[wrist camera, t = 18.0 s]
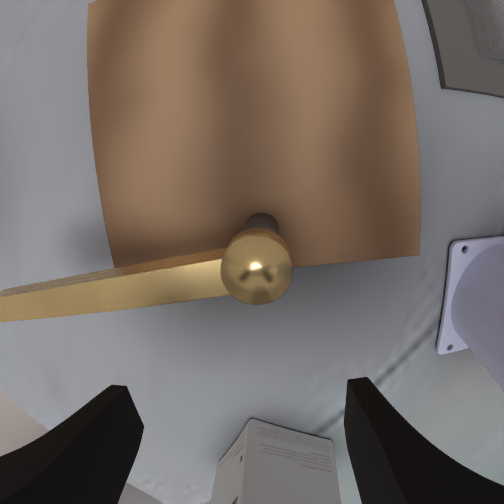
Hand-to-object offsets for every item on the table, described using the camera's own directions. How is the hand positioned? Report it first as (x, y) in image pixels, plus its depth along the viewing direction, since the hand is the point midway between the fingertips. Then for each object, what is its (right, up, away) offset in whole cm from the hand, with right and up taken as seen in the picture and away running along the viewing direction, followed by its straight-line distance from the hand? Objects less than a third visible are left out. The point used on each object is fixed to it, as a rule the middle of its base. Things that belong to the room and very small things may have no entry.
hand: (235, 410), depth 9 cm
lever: (-5, +4, +2) cm, 7 cm away
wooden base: (0, +12, +6) cm, 14 cm away
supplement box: (+2, -11, +14) cm, 18 cm away
